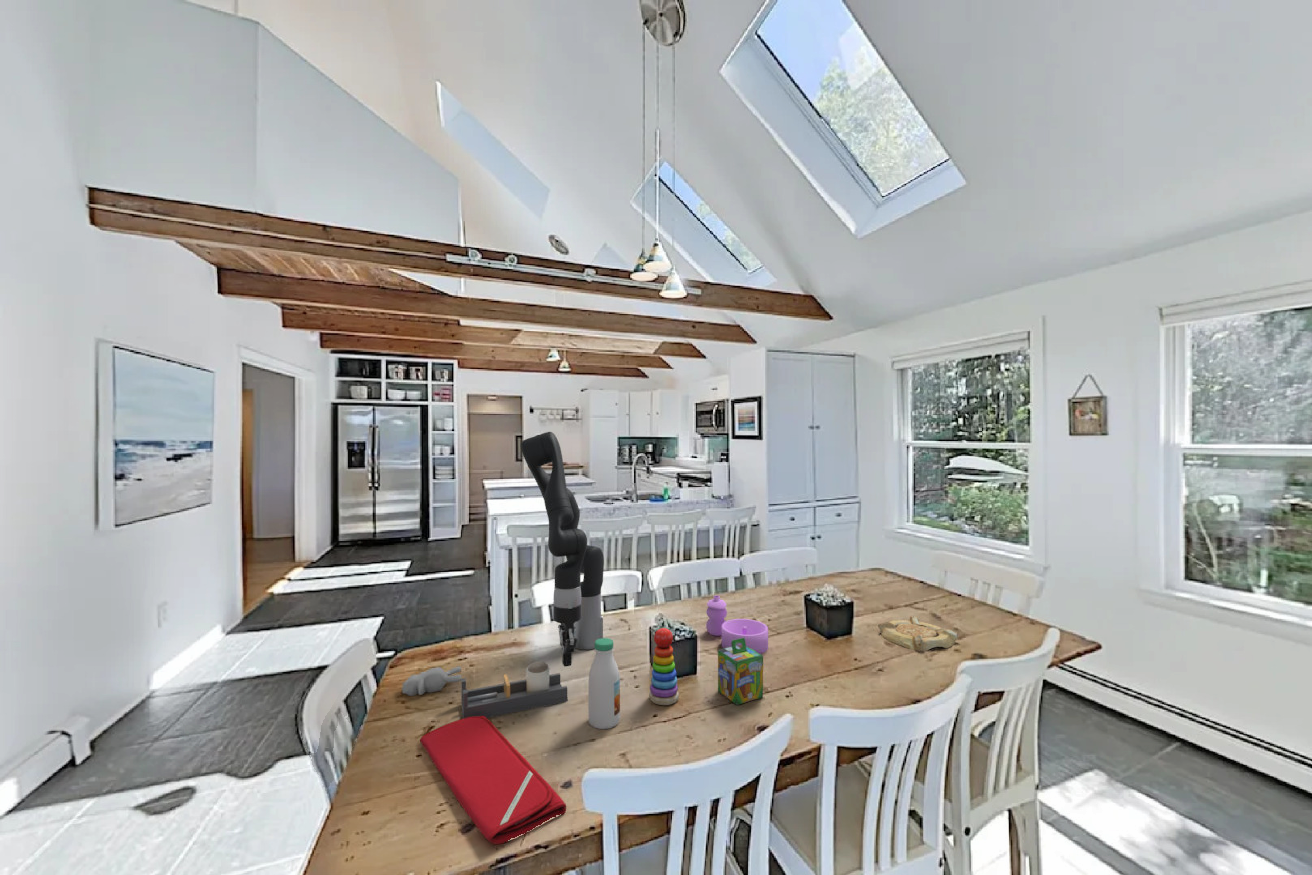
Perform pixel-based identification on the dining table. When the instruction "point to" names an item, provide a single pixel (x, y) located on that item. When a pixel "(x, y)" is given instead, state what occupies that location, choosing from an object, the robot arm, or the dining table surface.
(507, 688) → the pusher
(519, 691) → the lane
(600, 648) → the milk bottle
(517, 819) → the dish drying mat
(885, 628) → the ashtray
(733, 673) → the chalk box
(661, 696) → the stacking toy
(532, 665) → the spice jar
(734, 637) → the container set
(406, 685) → the bunny figurine
